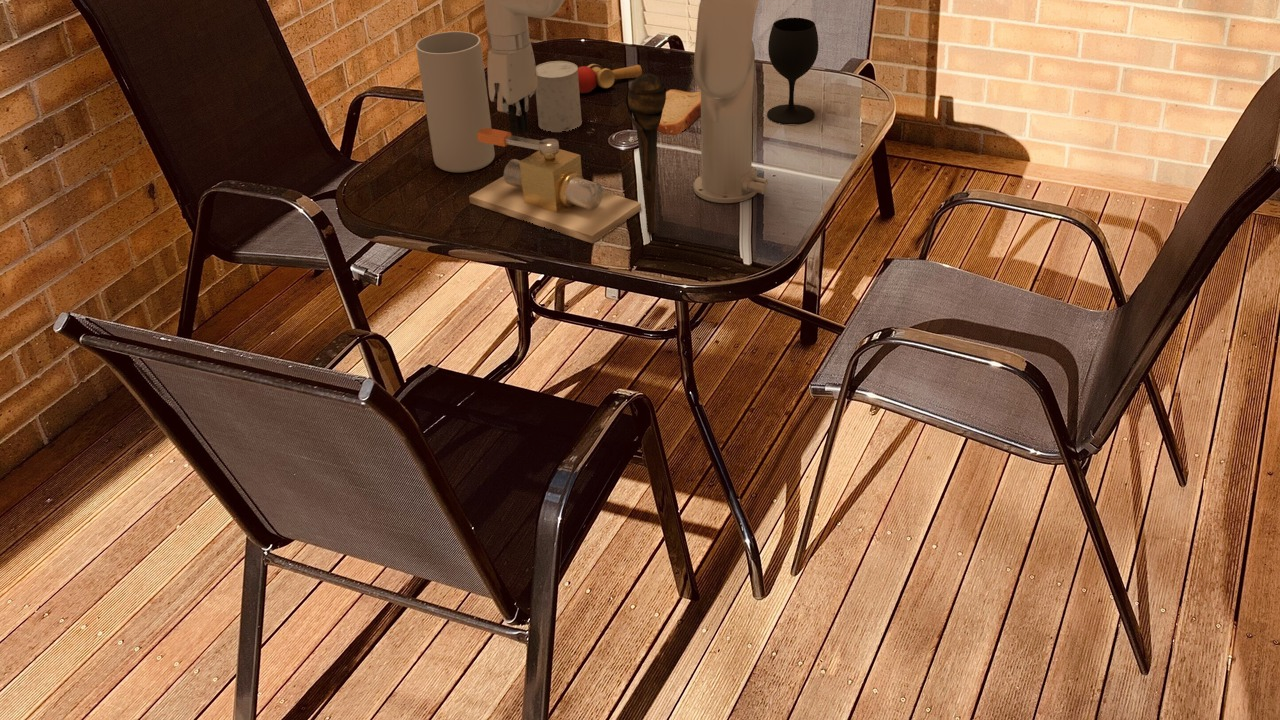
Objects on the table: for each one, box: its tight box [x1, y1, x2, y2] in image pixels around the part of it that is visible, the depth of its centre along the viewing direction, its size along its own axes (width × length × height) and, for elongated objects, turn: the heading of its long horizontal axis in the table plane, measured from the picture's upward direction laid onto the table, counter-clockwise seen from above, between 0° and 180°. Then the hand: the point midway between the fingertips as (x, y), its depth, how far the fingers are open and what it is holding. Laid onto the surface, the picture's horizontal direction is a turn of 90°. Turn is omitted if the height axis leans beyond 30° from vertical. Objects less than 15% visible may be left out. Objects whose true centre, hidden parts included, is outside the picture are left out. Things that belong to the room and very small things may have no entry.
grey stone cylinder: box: [535, 60, 583, 133], centre depth 245 cm, size 10×10×12 cm
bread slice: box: [657, 89, 701, 136], centre depth 249 cm, size 18×18×4 cm
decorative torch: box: [625, 72, 667, 235], centre depth 197 cm, size 7×7×30 cm
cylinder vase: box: [415, 30, 496, 174], centre depth 227 cm, size 12×12×25 cm
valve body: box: [503, 148, 604, 213], centre depth 213 cm, size 20×8×10 cm, turn 54°
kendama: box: [578, 63, 643, 94], centre depth 264 cm, size 8×6×18 cm
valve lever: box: [477, 128, 560, 156], centre depth 212 cm, size 17×4×2 cm, turn 62°
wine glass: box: [766, 17, 819, 125], centre depth 241 cm, size 10×10×20 cm
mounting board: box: [468, 175, 642, 244], centre depth 216 cm, size 30×15×2 cm, turn 54°
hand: (519, 131), depth 220 cm, fingers closed
